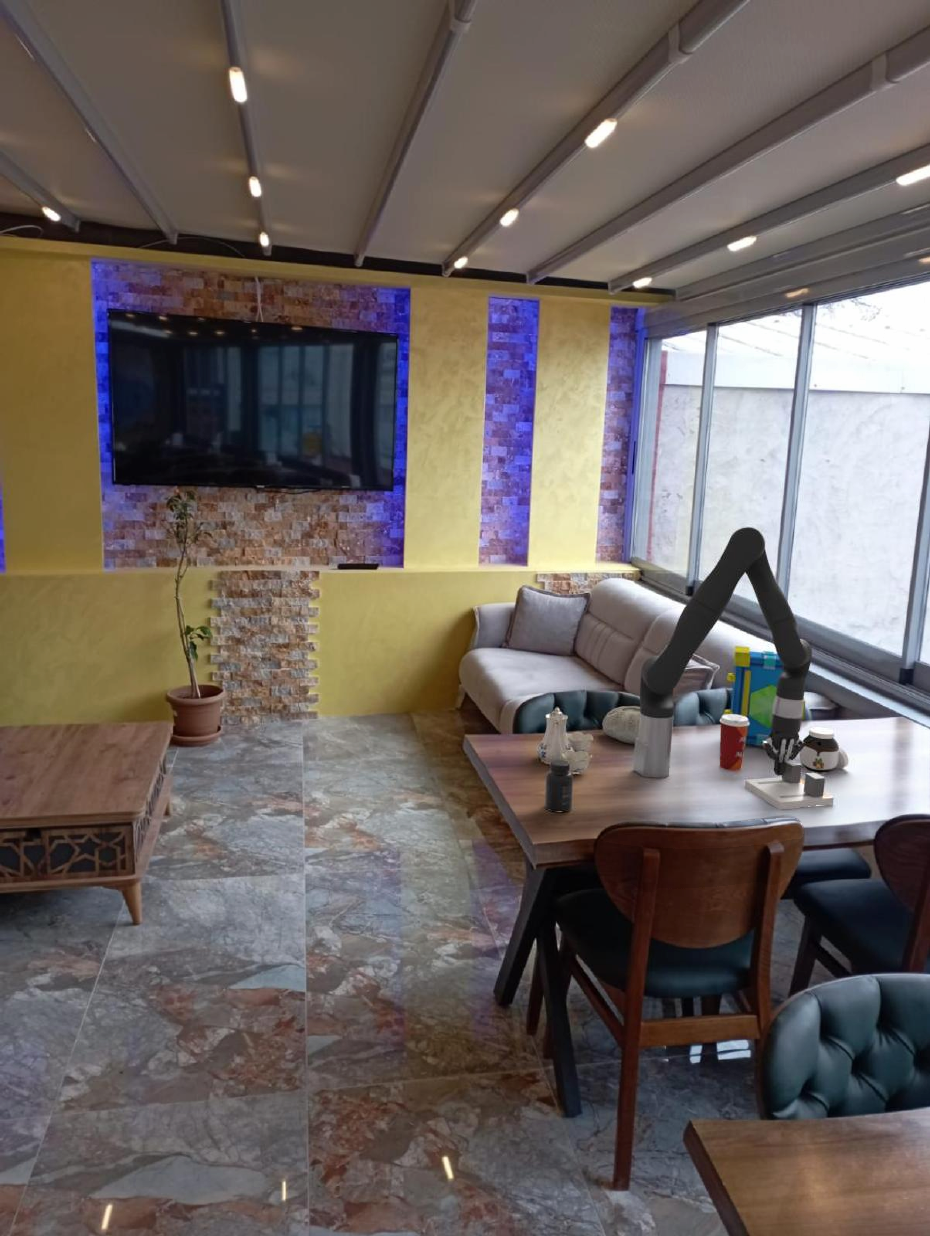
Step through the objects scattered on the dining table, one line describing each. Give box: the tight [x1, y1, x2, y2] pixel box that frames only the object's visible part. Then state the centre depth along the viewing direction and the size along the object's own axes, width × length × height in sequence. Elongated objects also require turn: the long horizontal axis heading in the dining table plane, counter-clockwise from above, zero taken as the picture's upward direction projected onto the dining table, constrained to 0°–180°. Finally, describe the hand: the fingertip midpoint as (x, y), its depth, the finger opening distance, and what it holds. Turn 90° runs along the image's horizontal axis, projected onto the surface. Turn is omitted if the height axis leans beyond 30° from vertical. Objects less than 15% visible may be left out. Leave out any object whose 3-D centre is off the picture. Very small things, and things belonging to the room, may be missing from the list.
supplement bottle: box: [544, 760, 574, 812], centre depth 222 cm, size 7×7×12 cm
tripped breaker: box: [781, 759, 803, 783], centre depth 242 cm, size 3×4×5 cm
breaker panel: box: [744, 776, 835, 811], centre depth 236 cm, size 16×16×2 cm
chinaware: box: [535, 706, 594, 775], centre depth 256 cm, size 28×17×17 cm, turn 176°
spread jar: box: [799, 726, 849, 774], centre depth 258 cm, size 12×11×12 cm
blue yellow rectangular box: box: [723, 645, 806, 747], centre depth 277 cm, size 14×23×30 cm, turn 75°
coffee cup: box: [719, 714, 749, 772], centre depth 256 cm, size 8×8×15 cm
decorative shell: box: [601, 705, 640, 745], centre depth 279 cm, size 18×18×10 cm
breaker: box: [804, 772, 826, 797], centre depth 232 cm, size 3×4×5 cm
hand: (778, 774), depth 241 cm, fingers closed
